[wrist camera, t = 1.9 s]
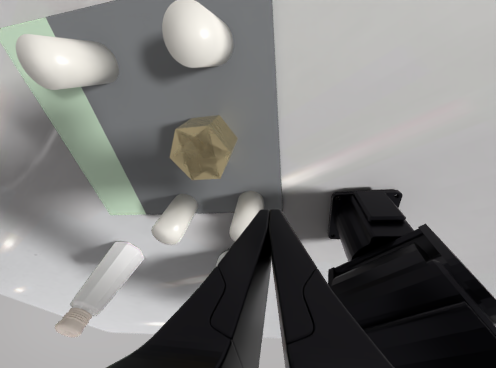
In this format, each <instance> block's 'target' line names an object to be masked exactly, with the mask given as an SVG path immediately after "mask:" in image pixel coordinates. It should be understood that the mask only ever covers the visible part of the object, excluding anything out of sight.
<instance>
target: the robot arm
mask: <svg viewBox="0 0 496 368" xmlns="http://www.w3.org/2000/svg"><path fill="white" fill-rule="evenodd" d="M394 195H396V196H394ZM338 196H339V197H338ZM336 197H338V198H336ZM401 198H402V193H401V192H400V191H398V190H385V191H383V190H372V191H356V192H336V193H334V194H333V195H332V200H331V209H330V218H329V228H328V236H329V238H330V239H340V240H341V242H342V245H343V248H344V251H345V253H346V256H347V259H348V262H347V263H344V264H342V265H340V266H338V267H336V268H334V267H333V268H331V269H329V271H328V283H327V282H326V281H325V279H324V278H323V276H322V274H321V273H320V271H319V270H318V269H317V267H316V265H315V264H314V262H313V260H312V259H311V257H310V256H309V254H308V253H307V251H306V249H305V248H304V246H303V245H302V243H301V242H300V240H299V239H298V237H297V235H296V234H295V232H294V231H293V229H292V228H291V226H290V224H289V223H288V221H287V220H286V218H285V217H284V215H283V213H282V212H281V210H280V209H271V210H269V209H261V210H260V211H259V212H258V213H257V214H256V216H255V217H254V218H253V220H252V221H251V222H250V223H249V225H248V226H247V227H246V229H245V230H244V231H243V232H242V234H241V235H240V236H239V238H238V239H237V240H236V242H235V243H234V244H233V245H232V247H231V248H230V249H229V251H228V252H227V253H226V254H225V256H224V257H223V258H222V260H221V261H220V262H219V263H218V266H216V267H215V268H214V270H213V271H212V272H211V274H210V275H209V276H208V277H207V279H206V280H205V281H204V282H203V283H202V285H201V286H200V287H199V288H198V289H197V290H196V291H195V292H194V294H193V295H192V296H191V297H190V298H189V299H188V300H187V301H186V302H185V303H184V304H183V305H182V306H181V307H180V309H179V310H178V311H177V312H176V313H175V314H174V315H173V316H172V317H171V318H170V319H169V320H168V321H167V322H166V323H165V324H164V325H163V326H162V327H161V329H160V330H159V331H158V332H157V333H156V334H155V335H154V336H153V337H152V338H151V339H149V340H148V341H147V342H146V343H145V344H144V345H142V346H141V347H140V348H139V349H137V350H136V351H134V352H133V353H131V354H130V355H128V356H126V357H125V358H123V359H121V360H119V361H117V362H115V363H114V364H112V365H110V366H108V367H107V368H258V367H259V358H260V350H261V343H262V335H263V327H264V319H265V310H266V302H267V294H268V286H269V278H270V270H271V259H272V267H273V275H274V282H275V290H276V298H277V306H278V313H279V321H280V329H281V337H282V344H283V352H284V360H285V367H286V368H496V299H495V298H494V297H493V296H492V294H491V293H490V292H489V291H488V290H487V289H486V288H485V287H484V286H483V285H482V284H481V282H480V281H479V280H478V279H477V278H476V277H475V276H474V275H473V274H472V273H471V272H470V271H469V270H468V268H467V267H466V266H465V265H464V264H463V263H462V262H461V261H460V260H459V259H458V258H457V257H456V256H455V255H454V253H453V252H452V251H451V250H450V249H449V248H448V247H447V246H446V245H445V244H444V243H443V242H442V241H441V240H440V239H439V237H438V236H437V235H436V234H435V233H434V232H433V231H432V230H431V229H430V228H429V227H428V226H427V225H426V224H424V225H422V226H420V227H418V228H419V229H417V230H415V231H414V230H413V229H412V227H411V226H410V225H409V224H408V222H407V221H406V220H405V219H406V217H405V216H404V215H403V213H402V212H401V211H400V210H399V209H398V207H399V204H400V201H401ZM333 234H334V235H333Z"/></svg>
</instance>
